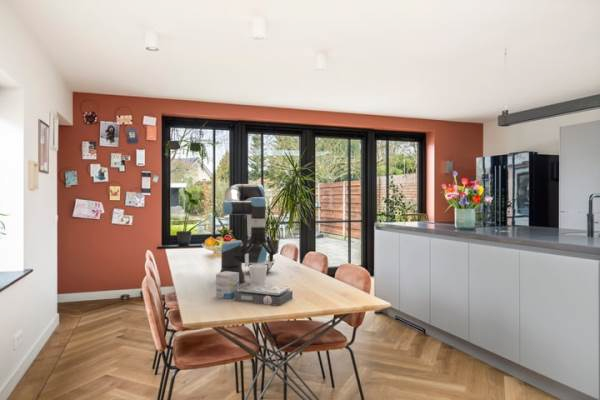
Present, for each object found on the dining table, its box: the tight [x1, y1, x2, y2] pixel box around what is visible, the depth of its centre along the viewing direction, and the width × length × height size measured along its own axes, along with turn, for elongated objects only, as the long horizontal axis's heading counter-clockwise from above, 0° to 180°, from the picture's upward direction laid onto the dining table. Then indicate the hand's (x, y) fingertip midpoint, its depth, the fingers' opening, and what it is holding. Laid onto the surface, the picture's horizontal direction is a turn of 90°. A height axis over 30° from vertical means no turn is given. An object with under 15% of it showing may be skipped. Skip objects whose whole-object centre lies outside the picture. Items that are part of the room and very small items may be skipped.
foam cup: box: [248, 264, 267, 285], centre depth 219 cm, size 10×9×13 cm
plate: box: [237, 282, 291, 295], centre depth 201 cm, size 22×13×1 cm, turn 68°
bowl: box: [249, 255, 276, 274], centre depth 269 cm, size 20×20×10 cm
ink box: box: [215, 271, 240, 300], centre depth 207 cm, size 9×8×12 cm
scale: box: [233, 290, 294, 307], centre depth 201 cm, size 24×15×4 cm, turn 68°
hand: (258, 267), depth 219 cm, fingers open, 13 cm apart
